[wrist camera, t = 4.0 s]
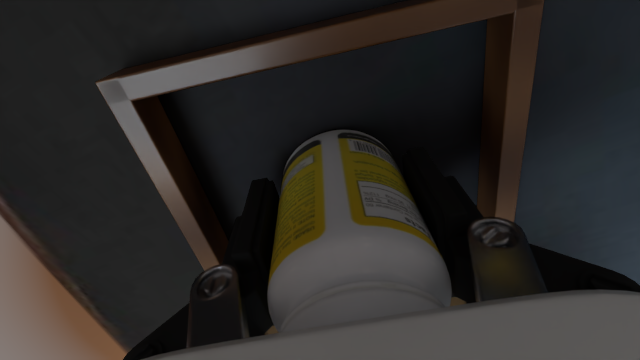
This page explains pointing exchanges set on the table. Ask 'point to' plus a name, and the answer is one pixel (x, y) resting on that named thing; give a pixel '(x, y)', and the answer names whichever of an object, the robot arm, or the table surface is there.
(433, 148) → the table surface
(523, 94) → the shelf rack
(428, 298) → the supplement bottle
